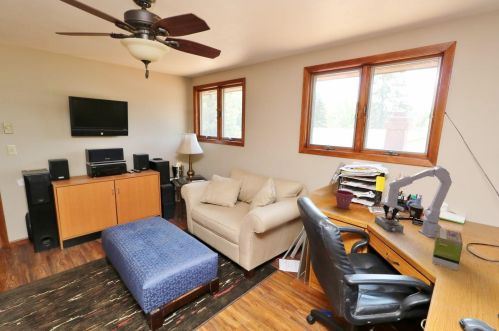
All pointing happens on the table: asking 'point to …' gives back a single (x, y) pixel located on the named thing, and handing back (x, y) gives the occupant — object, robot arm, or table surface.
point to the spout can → (389, 215)
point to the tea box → (447, 248)
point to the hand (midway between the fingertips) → (389, 217)
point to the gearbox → (389, 224)
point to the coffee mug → (415, 210)
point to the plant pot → (344, 198)
